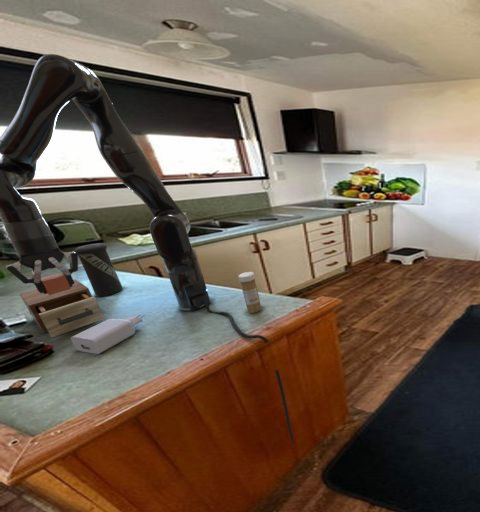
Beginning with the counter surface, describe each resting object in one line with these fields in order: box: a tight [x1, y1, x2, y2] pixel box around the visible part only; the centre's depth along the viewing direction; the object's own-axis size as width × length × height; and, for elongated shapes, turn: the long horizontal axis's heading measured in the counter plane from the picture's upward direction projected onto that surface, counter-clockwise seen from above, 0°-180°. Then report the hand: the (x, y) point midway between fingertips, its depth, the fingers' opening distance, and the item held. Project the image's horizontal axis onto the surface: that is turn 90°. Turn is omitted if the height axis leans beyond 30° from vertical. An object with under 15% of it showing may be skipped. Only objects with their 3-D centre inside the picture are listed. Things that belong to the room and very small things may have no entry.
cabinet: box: [19, 279, 93, 334], centre depth 91 cm, size 16×13×10 cm
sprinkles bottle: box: [238, 271, 262, 314], centre depth 90 cm, size 5×5×14 cm
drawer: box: [36, 293, 105, 338], centre depth 85 cm, size 19×12×8 cm, turn 59°
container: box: [73, 242, 124, 297], centre depth 106 cm, size 9×9×20 cm
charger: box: [70, 314, 146, 355], centre depth 80 cm, size 5×9×15 cm
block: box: [41, 272, 71, 295], centre depth 82 cm, size 4×4×4 cm
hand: (58, 289), depth 82 cm, fingers closed on block, 4 cm apart
